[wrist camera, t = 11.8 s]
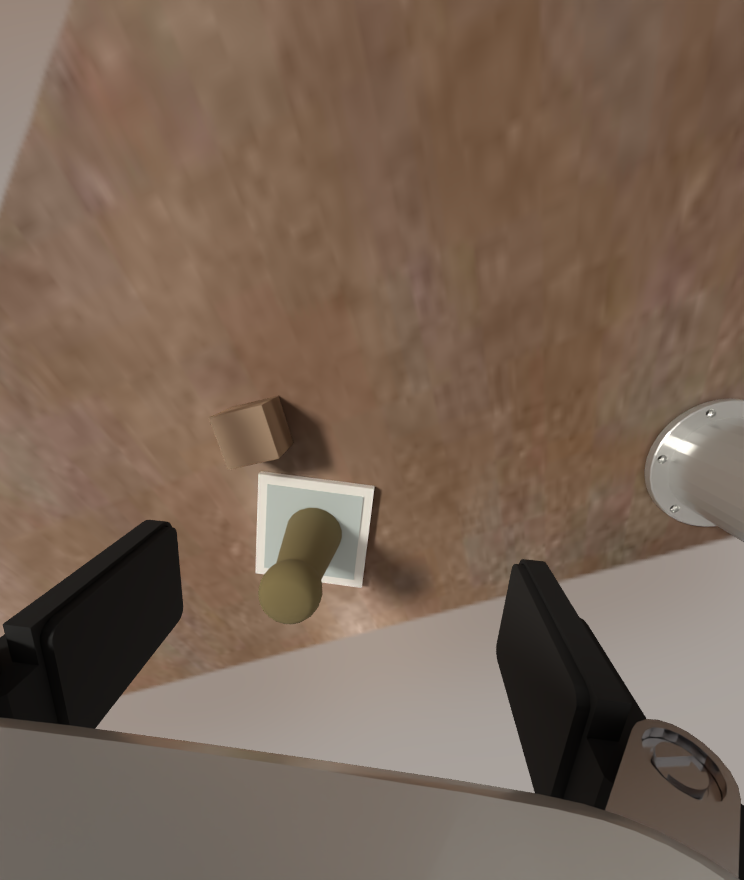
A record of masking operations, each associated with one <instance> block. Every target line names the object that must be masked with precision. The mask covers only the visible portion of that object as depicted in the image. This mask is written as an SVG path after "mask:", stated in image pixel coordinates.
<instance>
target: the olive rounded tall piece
mask: <svg viewBox="0 0 744 880" xmlns="http://www.w3.org/2000/svg"><path fill="white" fill-rule="evenodd" d="M341 539H342V530H341V527H340V524H339V522H338V521H337V520H336V518H335V517H334V516H333V515H332V514H330V513H329V512H327V511H325V510H322V509H319V508H305V509H301V510H299V511H297V512H296V513H294V514H293V515H292V516H291V518H290V519H289V520H288V523H287V527H286V530H285V534H284V537H283V541H282V544H281V548H280V551H279V555H278V558H277V562H276V564H274V565H272V566H271V567H270V568H269V569H268V570H267V572H266V573H265V574H264V576H263V578H262V579H261V582H260V586H259V591H258V595H259V602H260V605H261V607H262V609H263V611H264V612H265V613H266V614H267V615H268V616H269V617H270V618H272V619H273V620H275V621H277V622H280V623H283V624H296V623H300V622H302V621H304V620H305V619H307V618H309V617H311V615H312V614H313V613H314V612H315V611H316V609H317V608H318V606H319V603H320V600H321V597H322V581H321V580H322V578H323V576H324V574H325V572H326V570H327V568H328V566H329V564H330V562H331V560H332V559H333V557H334V555H335V553H336V551H337V549H338V547H339V545H340V542H341Z"/></svg>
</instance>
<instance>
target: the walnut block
mask: <svg viewBox="0 0 744 880" xmlns="http://www.w3.org/2000/svg"><path fill="white" fill-rule="evenodd" d="M209 421H210V424H211V426H212V429H213V432H214V434H215V437H216V440H217V442H218V445H219V448H220V451H221V453H222V456H223V459H224V461H225V464H226V467H227V469H228V470H230V469H235V468H239V467H244V466H248V465H253V464H257V463H262V462H266V461H271V460H275V459H279V458H280V457H281V456H282V455H283V454H284V453H285V452H286V451H287V449H288V448H289V447H290V446H291V445H292V444H293V440H292V437H291V434H290V430H289V427H288V424H287V421H286V418H285V415H284V411H283V408H282V405H281V402H280V399H279V396H275V397H271V398H267V399H263V400H259V401H255V402H251V403H247V404H242V405H238V406H234V407H231V408H229V409H227V410H225V411H222V412H220V413H218V414H216V415H214V416H212V417H209Z"/></svg>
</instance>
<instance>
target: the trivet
mask: <svg viewBox="0 0 744 880" xmlns="http://www.w3.org/2000/svg"><path fill="white" fill-rule="evenodd" d="M374 487H375V486H371V485H363V484H355V483H348V482H340V481H333V480H325V479H317V478H310V477H302V476H294V475H287V474H279V473H271V472H264V471H261V472H260V473H259V476H258V509H257V542H256V573H258V574H265V573H266V572H267V570H268V569H269V568H270V567H271V566H272V565H274V564H276V562H277V558H278V555H279V551H280V548H281V544H282V541H283V537H284V534H285V530H286V527H287V523H288V520H289V519H290V518H291V516H292V515H293V514H294V513H296V512H297V511H299V510H301V509H305V508H319V509H322V510H325V511H327V512H329V513H330V514H332V515H333V516H334V517H335V518H336V520H337V521H338V522H339V524H340V527H341V530H342V539H341V542H340V545H339V547H338V549H337V551H336V553H335V555H334V557H333V559H332V560H331V562H330V564H329V566H328V568H327V570H326V572H325V574H324V576H323V578H322V580H321V581H322V582H323V583H330V584H338V585H345V586H352V587H359V588H362V582H363V574H364V566H365V558H366V550H367V542H368V534H369V527H370V519H371V511H372V503H373V495H374Z"/></svg>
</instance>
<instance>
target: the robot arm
mask: <svg viewBox="0 0 744 880" xmlns="http://www.w3.org/2000/svg"><path fill="white" fill-rule="evenodd" d="M645 483H646V487H647V491H648V493H649V495H650V497H651V499H652V500H653V502H654V503H655V504H656V505H657V506H658V507H659V508H660V509H661V510H662V511H664V512H665V513H666V514H668V515H669V516H671V517H672V518H674V519H676V520H678V521H680V522H683V523H686V524H689V525H694V526H702V527H708V526H718V527H720V528H722V529H723V530H725V531H726V532H728V533H730V534H731V535H733V536H735V537H736V538H738V539H740V540H741V541H743V542H744V400H741V399H719V400H714V401H710V402H706V403H703V404H700V405H698V406H696V407H693V408H691V409H689V410H687V411H686V412H684V413H682V414H681V415H679V416H678V417H677V418H675V419H674V420H673V421H672V422H670V423H669V424H668V425H667V426H666V427H665V428H664V430H663V431H662V432H661V433H660V434H659V435H658V437H657V438H656V440H655V442H654V443H653V445H652V446H651V449H650V451H649V454H648V456H647V460H646V465H645ZM182 612H183V599H182V588H181V576H180V565H179V553H178V542H177V532H176V529H175V528H172V526H171V524H170V523H169V522H165V521H155V520H146V521H144V522H142V523H141V524H140V525H138V526H137V527H135V528H134V529H133V530H131V531H130V532H129V533H127V534H126V535H124V536H123V537H122V538H120V539H119V540H118V541H116V542H115V543H113V544H112V545H111V546H109V547H108V548H107V549H105V550H104V551H103V552H101V553H100V554H98V555H97V556H96V557H94V558H93V559H92V560H90V561H89V562H87V563H86V564H85V565H83V566H82V567H81V568H79V569H78V570H76V571H75V572H74V573H72V574H71V575H70V576H68V577H67V578H65V579H64V580H63V581H61V582H60V583H59V584H57V585H56V586H54V587H53V588H52V589H50V590H49V591H48V592H46V593H45V594H44V595H42V596H41V597H39V598H38V599H37V600H35V601H34V602H33V603H31V604H30V605H28V606H27V607H26V608H24V609H23V610H22V611H20V612H19V613H17V614H16V615H15V616H13V617H12V618H11V619H9V620H8V621H6V622H5V623H4V624H3V628H4V632H5V634H4V635H3V636H2V637H0V880H744V805H742V804H741V798H740V793H739V788H738V785H737V783H736V782H735V780H734V778H733V776H732V774H731V772H730V771H729V770H728V768H727V767H726V766H725V765H724V763H723V762H722V761H721V760H720V758H719V757H718V756H717V755H716V754H715V753H714V752H713V751H711V750H710V749H709V748H708V747H707V746H706V745H705V744H704V743H703V742H701V741H700V740H698V739H697V738H695V737H694V736H693V735H691V734H690V733H688V732H687V731H684V730H683V729H681V728H679V727H677V726H674V725H673V724H670V723H667V722H663V721H660V720H651V719H646V717H645V716H644V714H643V712H642V711H641V709H640V708H639V706H638V704H637V703H636V701H635V700H634V698H633V696H632V695H631V693H630V692H629V690H628V688H627V687H626V685H625V684H624V682H623V681H622V679H621V677H620V676H619V674H618V673H617V671H616V669H615V668H614V666H613V664H612V663H611V661H610V660H609V658H608V656H607V655H606V653H605V652H604V650H603V648H602V647H601V645H600V644H599V642H598V640H597V639H596V637H595V636H594V634H593V632H592V631H591V629H590V628H589V626H588V625H587V623H586V622H585V621H584V620H583V619H581V618H579V616H578V614H577V613H576V611H575V609H574V608H573V606H572V605H571V603H570V601H569V600H568V598H567V597H566V595H565V593H564V591H563V590H562V588H561V587H560V585H559V583H558V582H557V580H556V578H555V577H554V575H553V573H552V572H551V570H550V569H549V567H548V565H547V564H546V563H545V562H543V561H535V560H525V559H522V560H521V561H520V563H519V564H514V565H513V566H512V570H511V575H510V580H509V585H508V590H507V595H506V600H505V605H504V610H503V615H502V620H501V625H500V630H499V635H498V640H497V646H496V654H497V660H498V664H499V668H500V671H501V674H502V678H503V682H504V685H505V689H506V692H507V696H508V699H509V703H510V707H511V710H512V714H513V717H514V721H515V724H516V727H517V731H518V735H519V738H520V742H521V745H522V749H523V752H524V756H525V759H526V763H527V766H528V770H529V773H530V777H531V780H532V784H533V788H534V791H535V793H530V792H524V791H518V790H512V789H506V788H500V787H494V786H488V785H482V784H476V783H470V782H464V781H458V780H452V779H445V778H439V777H432V776H425V775H418V774H412V773H405V772H398V771H391V770H384V769H378V768H371V767H364V766H357V765H350V764H344V763H337V762H330V761H323V760H316V759H310V758H302V757H295V756H288V755H281V754H274V753H267V752H260V751H253V750H246V749H239V748H232V747H225V746H217V745H210V744H203V743H196V742H189V741H182V740H174V739H167V738H160V737H152V736H145V735H137V734H129V733H122V732H115V731H107V730H100V729H95V728H96V727H97V725H98V724H99V723H100V722H101V720H102V719H103V718H104V716H105V715H106V714H107V713H108V711H109V710H110V709H111V707H112V706H113V705H114V704H115V702H116V701H117V700H118V699H119V697H120V696H121V695H122V693H123V692H124V691H125V690H126V688H127V687H128V686H129V684H130V683H131V682H132V681H133V679H134V678H135V677H136V675H137V674H138V673H139V672H140V670H141V669H142V668H143V666H144V665H145V664H146V663H147V661H148V660H149V659H150V657H151V656H152V655H153V654H154V652H155V651H156V650H157V648H158V647H159V646H160V645H161V643H162V642H163V641H164V639H165V638H166V637H167V636H168V634H169V633H170V632H171V630H172V629H173V628H174V627H175V625H176V624H177V623H178V621H179V620H180V618H181V615H182Z"/></svg>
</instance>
